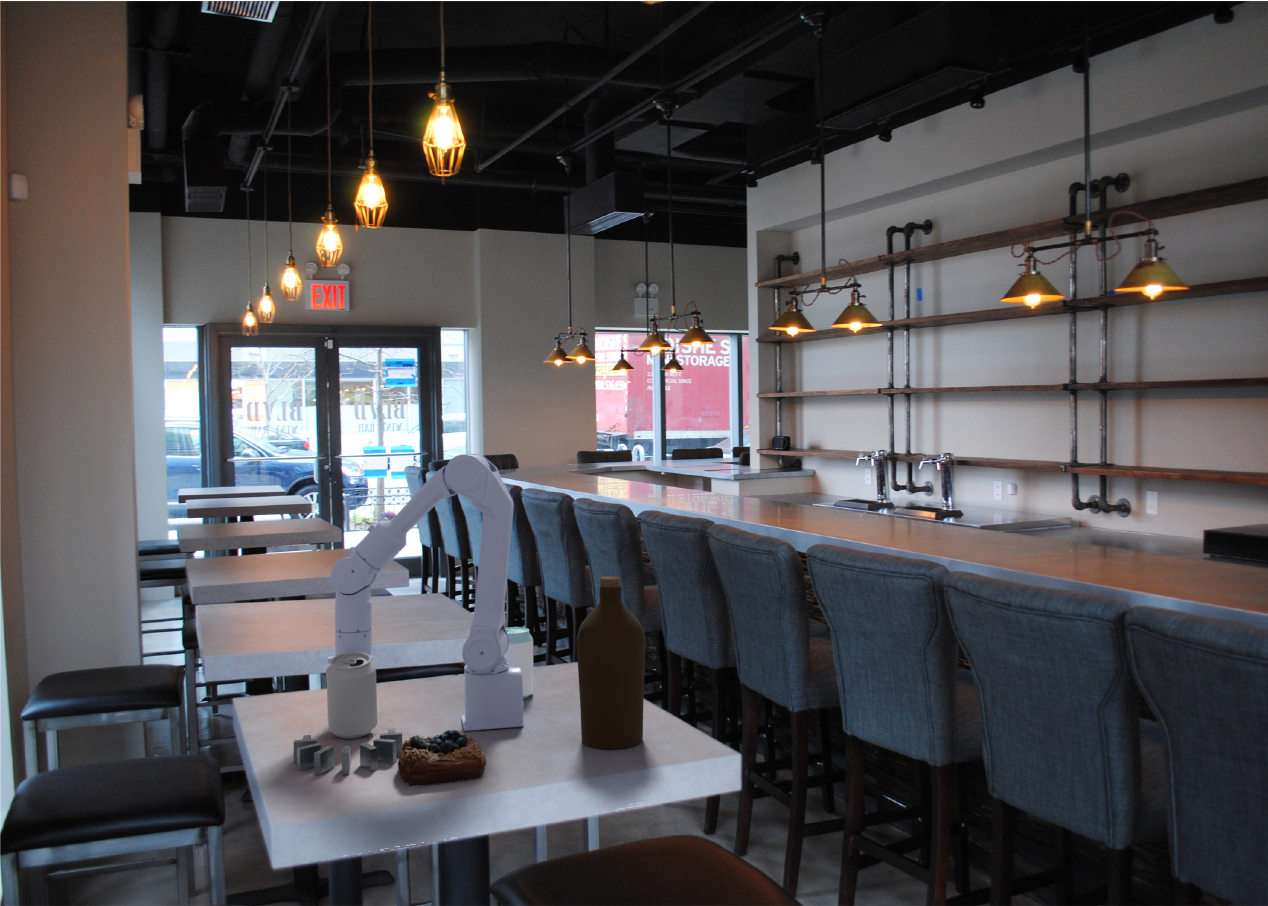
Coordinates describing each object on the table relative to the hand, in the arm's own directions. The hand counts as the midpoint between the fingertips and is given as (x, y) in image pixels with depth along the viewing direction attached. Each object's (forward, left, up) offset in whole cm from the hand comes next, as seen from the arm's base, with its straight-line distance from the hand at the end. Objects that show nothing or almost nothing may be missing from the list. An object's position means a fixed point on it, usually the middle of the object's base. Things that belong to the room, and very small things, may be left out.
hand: (353, 712), depth 157 cm
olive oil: (-39, +19, -2) cm, 44 cm away
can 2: (-27, -11, -2) cm, 29 cm away
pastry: (-13, +27, -2) cm, 30 cm away
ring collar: (0, +20, -2) cm, 20 cm away
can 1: (0, +5, -2) cm, 5 cm away
